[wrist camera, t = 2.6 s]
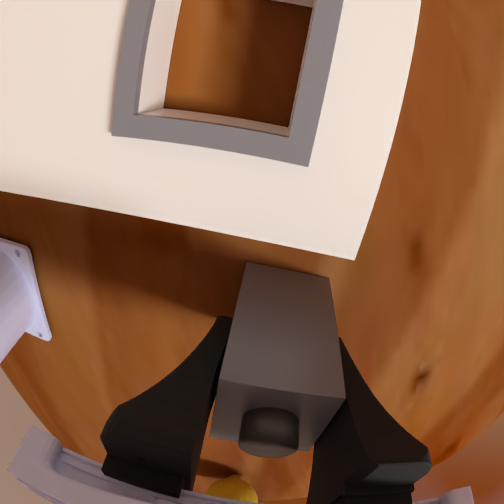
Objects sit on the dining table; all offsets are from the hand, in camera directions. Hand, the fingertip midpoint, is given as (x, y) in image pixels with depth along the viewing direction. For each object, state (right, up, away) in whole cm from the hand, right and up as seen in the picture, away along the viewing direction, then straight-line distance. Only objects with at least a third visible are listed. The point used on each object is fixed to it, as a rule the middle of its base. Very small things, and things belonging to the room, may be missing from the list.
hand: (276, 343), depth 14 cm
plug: (0, +1, +3) cm, 3 cm away
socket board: (-5, +12, -3) cm, 13 cm away
